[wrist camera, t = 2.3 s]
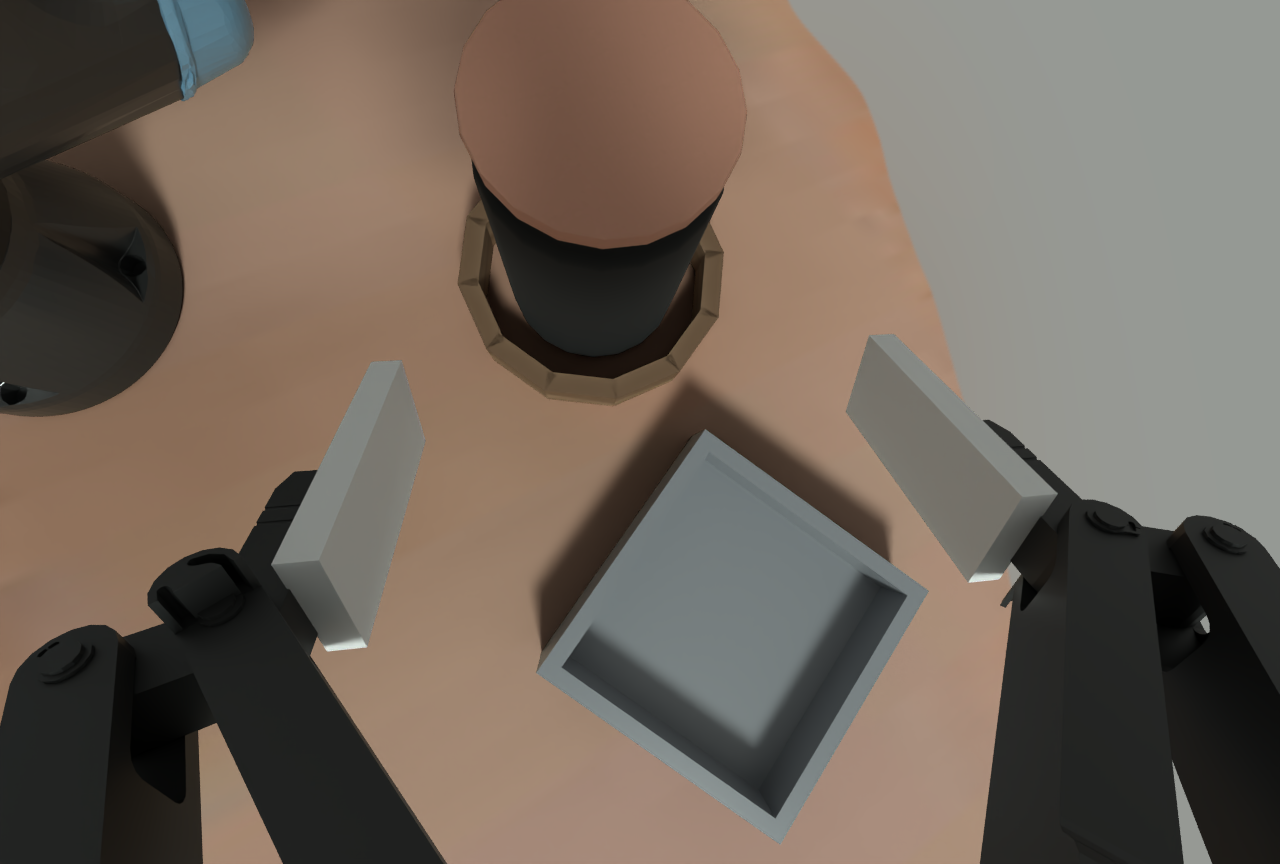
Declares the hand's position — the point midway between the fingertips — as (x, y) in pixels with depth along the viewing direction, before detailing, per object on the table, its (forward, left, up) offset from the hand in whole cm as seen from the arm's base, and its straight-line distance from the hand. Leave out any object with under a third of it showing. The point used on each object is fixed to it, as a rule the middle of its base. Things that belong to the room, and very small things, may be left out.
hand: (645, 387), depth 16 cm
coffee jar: (-7, +8, -21) cm, 24 cm away
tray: (+13, -5, -21) cm, 25 cm away
